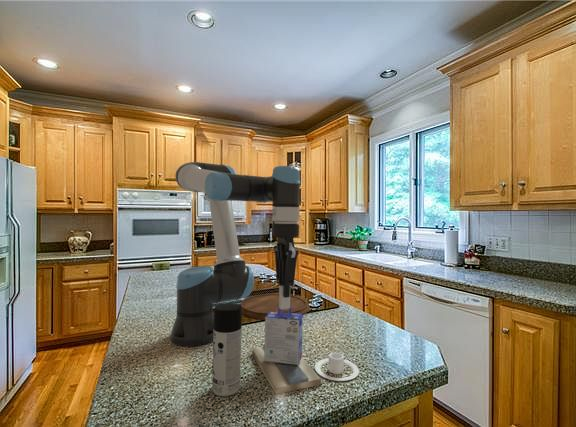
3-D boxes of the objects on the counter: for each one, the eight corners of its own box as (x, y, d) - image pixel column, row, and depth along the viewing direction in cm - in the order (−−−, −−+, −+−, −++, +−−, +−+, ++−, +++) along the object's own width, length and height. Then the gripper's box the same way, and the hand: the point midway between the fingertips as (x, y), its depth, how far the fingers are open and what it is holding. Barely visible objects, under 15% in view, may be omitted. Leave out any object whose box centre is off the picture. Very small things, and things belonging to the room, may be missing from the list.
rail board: (275, 394, 72) (275, 384, 72) (252, 353, 92) (252, 345, 92) (321, 384, 76) (321, 375, 76) (288, 347, 96) (289, 340, 96)
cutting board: (321, 305, 142) (321, 300, 142) (284, 327, 115) (284, 320, 115) (266, 294, 159) (266, 289, 159) (222, 311, 132) (222, 305, 132)
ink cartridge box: (302, 356, 86) (303, 305, 86) (299, 366, 80) (300, 311, 80) (269, 352, 88) (270, 302, 88) (263, 361, 82) (264, 308, 82)
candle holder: (338, 356, 92) (338, 342, 92) (368, 375, 82) (368, 359, 81) (306, 367, 85) (306, 352, 85) (334, 388, 75) (334, 371, 75)
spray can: (214, 381, 76) (215, 302, 76) (241, 381, 77) (242, 302, 77) (209, 398, 70) (211, 311, 70) (239, 397, 70) (240, 311, 70)
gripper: (265, 221, 89) (264, 302, 89) (280, 223, 76) (279, 317, 76) (289, 222, 91) (288, 300, 91) (308, 223, 79) (306, 314, 79)
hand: (284, 307), depth 84 cm, fingers closed
